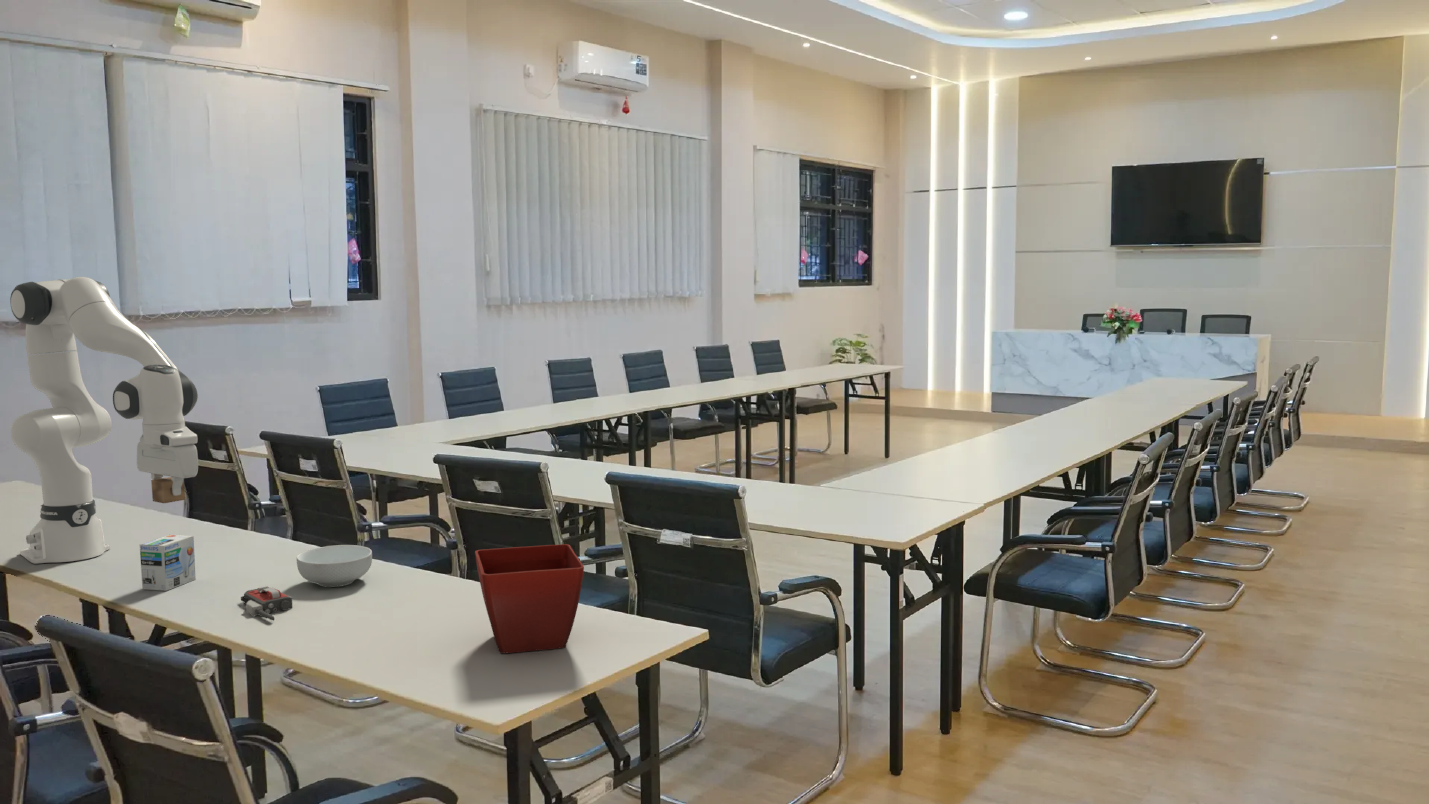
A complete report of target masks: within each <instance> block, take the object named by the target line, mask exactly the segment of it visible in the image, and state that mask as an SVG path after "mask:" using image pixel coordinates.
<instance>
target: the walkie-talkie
mask: <svg viewBox="0 0 1429 804" xmlns="http://www.w3.org/2000/svg"><path fill="white" fill-rule="evenodd" d="M240 601H241V602H243V603H244V605H245V608H246V609H245V612H246V613H248V614H250V615H251V616H252V617H257V616H261V617H263V618H265V619H268V620H271V621H275V617H274V616H273V615H272V613H277V612H281V611H286V610H291V609H293V597H291V596H290V595H288V594H286V593H284V592H281V591H280V589H278V588H276V587H273V586H272V587H269V586H268V585H267V586H266V585H265V586H261V587H257V588H253V589H249V590H246V591H245V592H244V593H243V595H242V596H240Z"/></svg>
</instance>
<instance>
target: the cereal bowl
mask: <svg viewBox="0 0 1429 804" xmlns="http://www.w3.org/2000/svg"><path fill="white" fill-rule="evenodd" d="M372 563H373V551H372V549H370V547H367V546H363V545H356V544H355V545H354V544H338V545H337V544H336V545H326V546H322V547H316V548H312V549H308V550H306V551H303V552H300V553H299V554H298V555H297V556H296V566H297V570H298V573H299V574H300V576H301V577H302V578H303V579H304V580H306V581H308V582H309V583H314V584H318V585H319V586H320V585H321V587H324V586H326V587H327V588H334V587H336V588H337V587H343V586H342V585H344V586H348V585H350V584H352V583H354V581H355V580H358V579H359V578H361V577H364V575H366V573H368V571H369V570H370V568H371V566H372ZM326 587H325V588H326Z"/></svg>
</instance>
